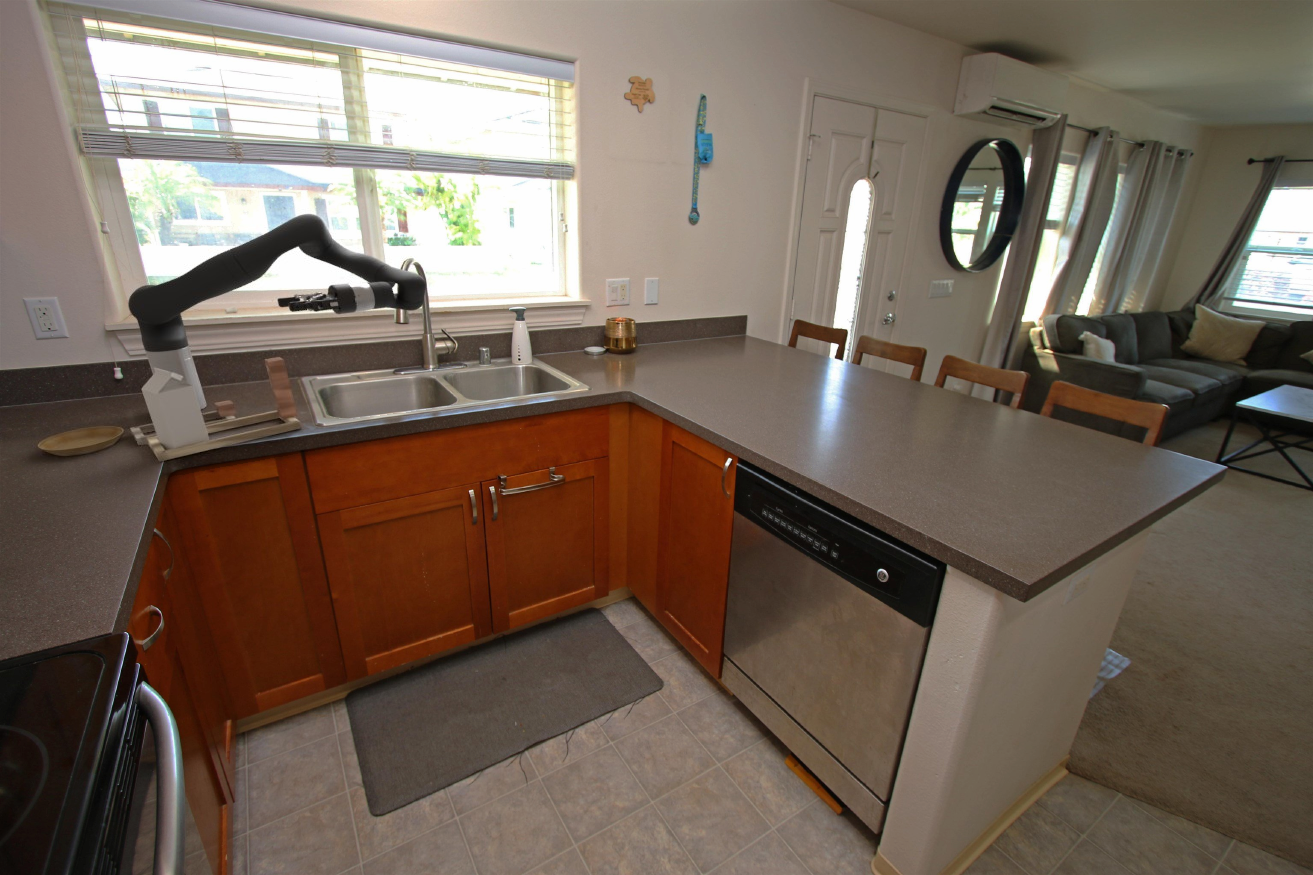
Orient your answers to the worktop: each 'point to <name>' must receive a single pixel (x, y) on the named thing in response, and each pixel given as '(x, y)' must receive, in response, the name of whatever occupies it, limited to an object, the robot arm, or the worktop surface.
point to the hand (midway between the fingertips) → (283, 305)
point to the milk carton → (174, 410)
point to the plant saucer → (81, 440)
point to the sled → (245, 418)
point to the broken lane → (223, 410)
